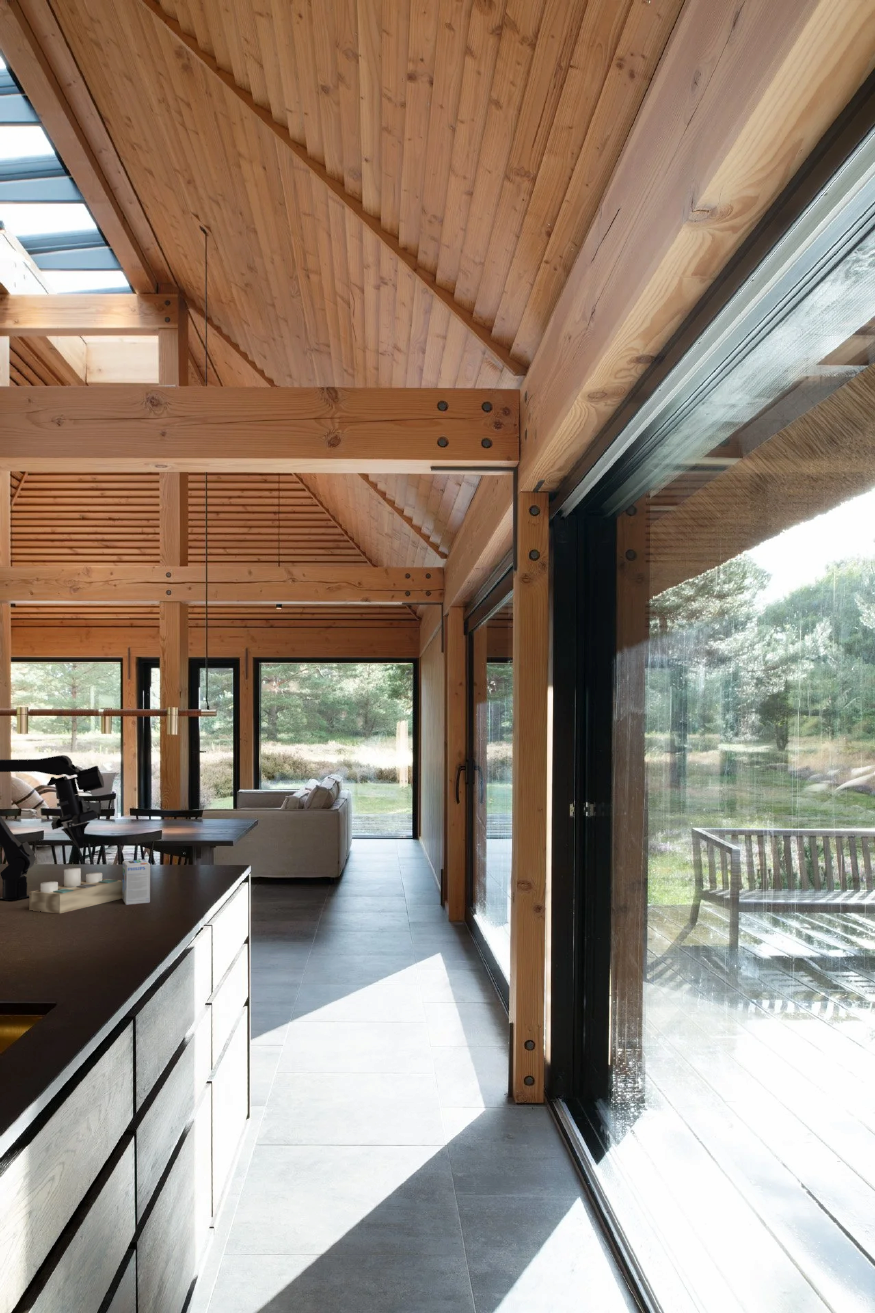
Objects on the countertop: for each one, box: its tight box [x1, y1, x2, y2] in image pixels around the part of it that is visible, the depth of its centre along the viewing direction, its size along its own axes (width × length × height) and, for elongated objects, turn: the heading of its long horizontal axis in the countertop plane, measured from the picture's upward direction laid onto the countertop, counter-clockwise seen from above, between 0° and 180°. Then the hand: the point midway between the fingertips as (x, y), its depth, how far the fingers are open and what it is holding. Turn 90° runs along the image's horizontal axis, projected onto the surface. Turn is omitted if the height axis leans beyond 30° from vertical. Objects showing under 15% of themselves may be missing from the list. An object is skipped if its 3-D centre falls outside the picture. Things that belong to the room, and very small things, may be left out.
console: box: [28, 878, 123, 914], centre depth 259 cm, size 12×23×5 cm, turn 154°
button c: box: [85, 872, 103, 883], centre depth 268 cm, size 4×4×7 cm
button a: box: [40, 881, 59, 893], centre depth 253 cm, size 4×4×7 cm
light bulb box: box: [121, 859, 151, 906], centre depth 263 cm, size 11×7×11 cm, turn 25°
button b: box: [63, 867, 82, 888], centre depth 261 cm, size 4×4×7 cm
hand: (81, 848), depth 273 cm, fingers closed
